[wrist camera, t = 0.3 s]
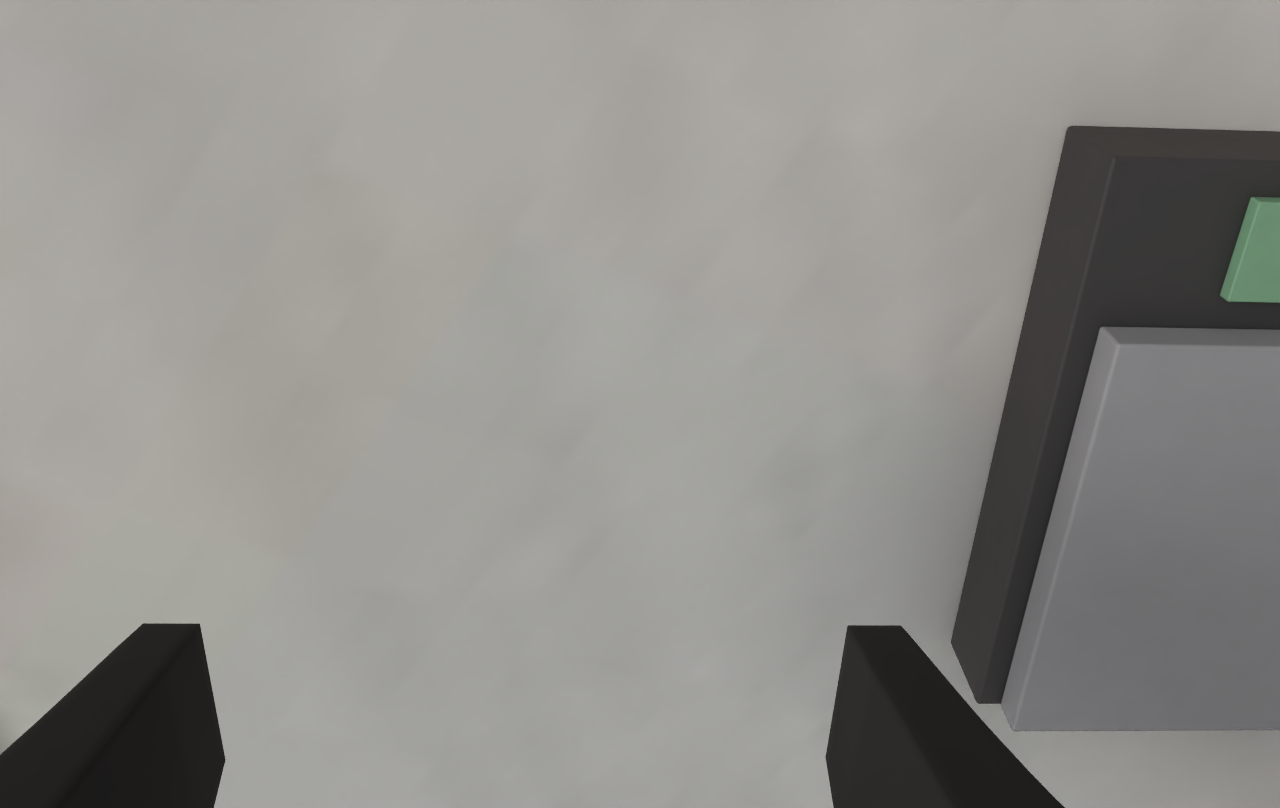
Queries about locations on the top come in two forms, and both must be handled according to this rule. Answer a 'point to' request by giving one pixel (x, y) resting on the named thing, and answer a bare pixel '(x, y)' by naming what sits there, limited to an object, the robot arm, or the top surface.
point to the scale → (1139, 449)
